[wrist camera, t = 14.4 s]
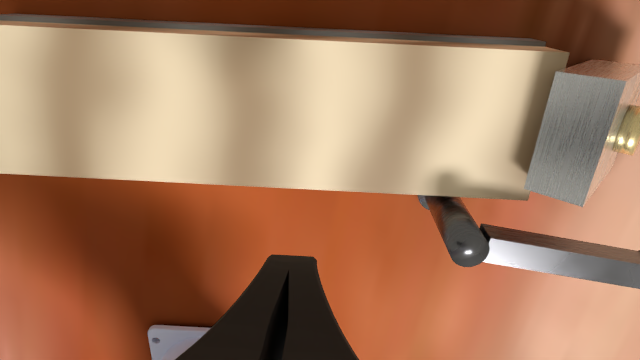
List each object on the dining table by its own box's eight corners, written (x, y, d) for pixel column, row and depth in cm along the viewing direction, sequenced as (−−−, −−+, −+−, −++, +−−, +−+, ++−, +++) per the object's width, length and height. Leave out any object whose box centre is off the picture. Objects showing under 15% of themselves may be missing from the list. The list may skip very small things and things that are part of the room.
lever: (420, 208, 22) (444, 265, 17) (430, 178, 21) (458, 229, 17) (606, 241, 22) (678, 305, 18) (622, 212, 22) (701, 271, 17)
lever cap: (562, 155, 21) (629, 171, 19) (523, 188, 17) (603, 213, 15) (592, 59, 19) (669, 68, 17) (555, 71, 15) (652, 84, 13)
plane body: (530, 38, 19) (571, 47, 16) (498, 173, 22) (526, 204, 18) (13, 13, 19) (-51, 17, 16) (47, 150, 22) (-2, 177, 19)
